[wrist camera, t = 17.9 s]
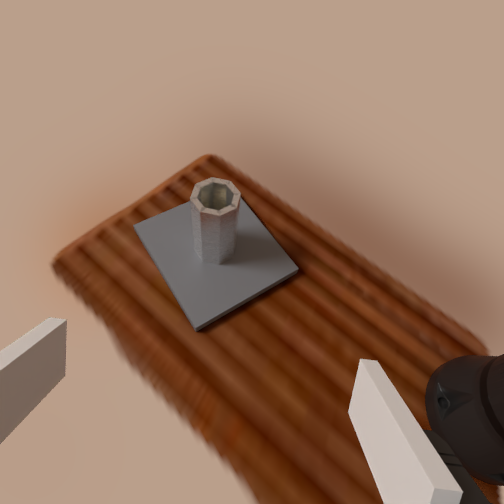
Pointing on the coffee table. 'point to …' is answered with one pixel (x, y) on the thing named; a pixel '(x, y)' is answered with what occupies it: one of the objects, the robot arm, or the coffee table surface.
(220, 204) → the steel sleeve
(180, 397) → the coffee table surface
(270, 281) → the post plate
